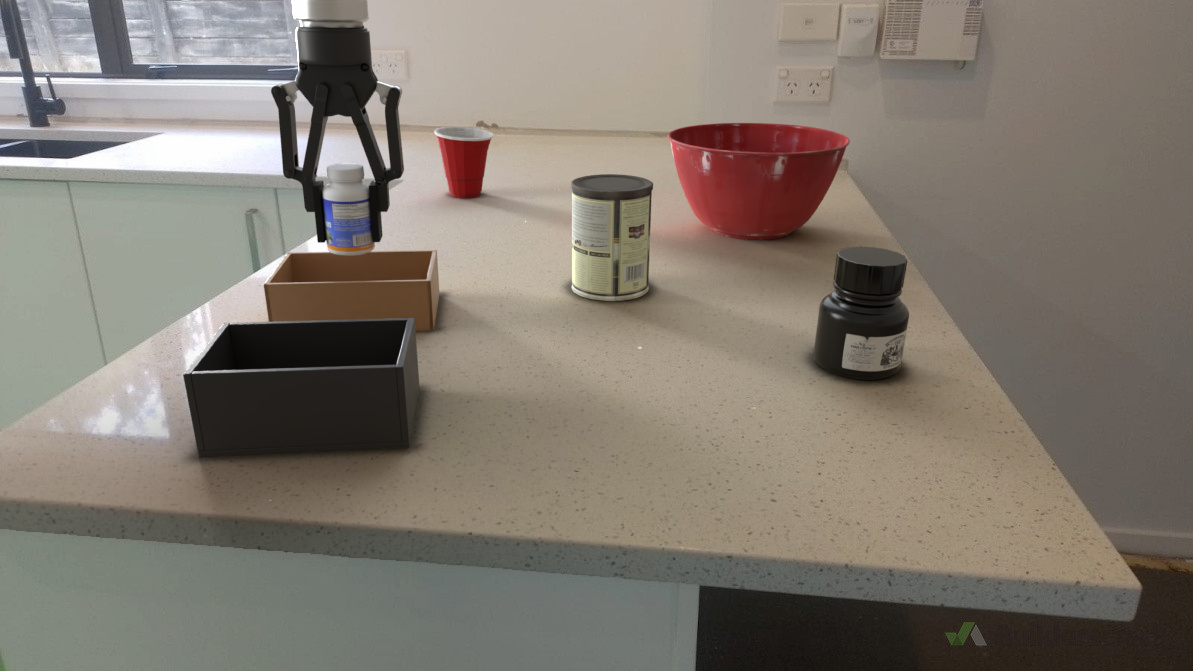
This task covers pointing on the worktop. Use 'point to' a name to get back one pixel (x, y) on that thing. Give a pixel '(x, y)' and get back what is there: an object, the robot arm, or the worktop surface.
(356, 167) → the pill bottle
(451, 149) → the plastic cup
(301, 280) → the carton
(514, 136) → the worktop surface
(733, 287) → the worktop surface
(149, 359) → the worktop surface
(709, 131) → the mixing bowl
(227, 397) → the open box
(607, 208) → the coffee can
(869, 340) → the ink bottle
